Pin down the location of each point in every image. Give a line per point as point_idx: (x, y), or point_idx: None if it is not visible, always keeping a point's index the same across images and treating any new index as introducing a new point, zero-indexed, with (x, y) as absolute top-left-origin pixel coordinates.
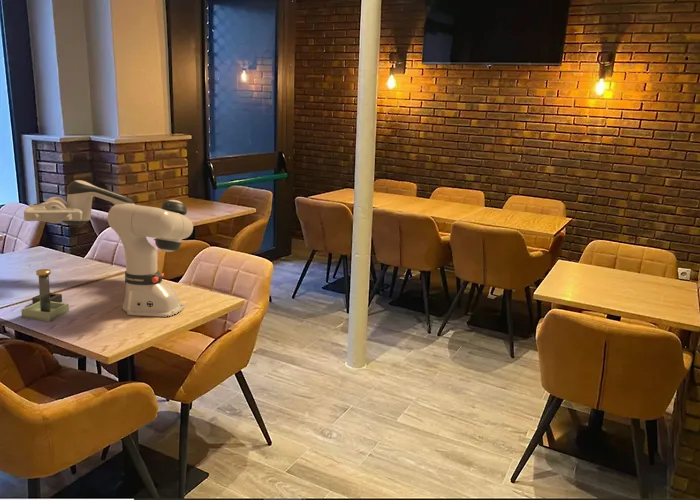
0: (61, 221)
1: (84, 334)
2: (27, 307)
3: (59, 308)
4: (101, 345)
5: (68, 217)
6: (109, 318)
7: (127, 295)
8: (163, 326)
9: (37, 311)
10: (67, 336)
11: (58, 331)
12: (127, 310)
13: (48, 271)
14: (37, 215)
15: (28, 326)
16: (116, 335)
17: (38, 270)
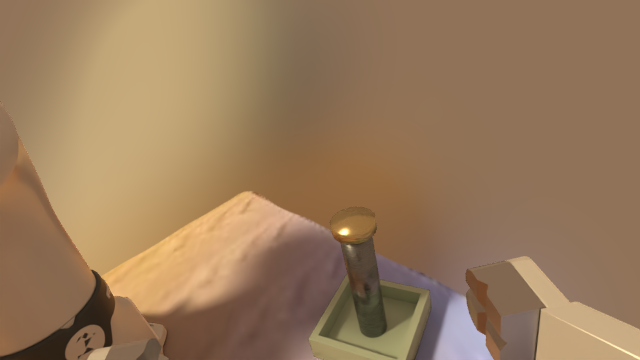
0: None
1: (274, 240)
2: (420, 305)
3: (329, 304)
4: (250, 212)
5: (108, 351)
6: (215, 311)
7: (137, 321)
8: (127, 276)
9: (380, 281)
10: (303, 232)
11: (322, 247)
12: (160, 336)
13: (334, 216)
14: (573, 314)
15: (391, 264)
16: (221, 240)
17: (369, 220)
